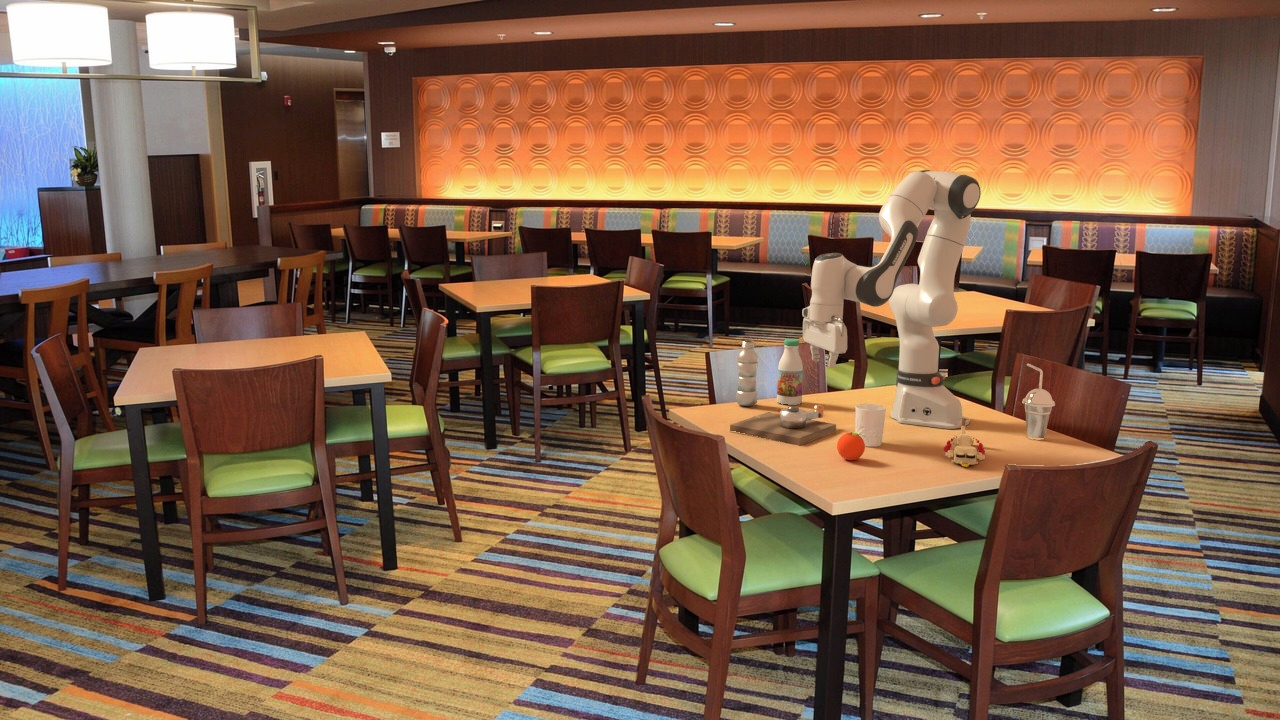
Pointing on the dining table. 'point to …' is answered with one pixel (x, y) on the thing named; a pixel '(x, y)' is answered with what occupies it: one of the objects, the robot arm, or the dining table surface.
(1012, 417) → the dining table surface
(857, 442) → the clementine
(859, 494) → the dining table surface
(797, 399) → the milk bottle
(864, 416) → the white cup
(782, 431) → the walnut stand
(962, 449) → the blocky toy figure
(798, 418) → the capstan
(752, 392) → the plastic bottle
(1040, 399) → the cup with straw
